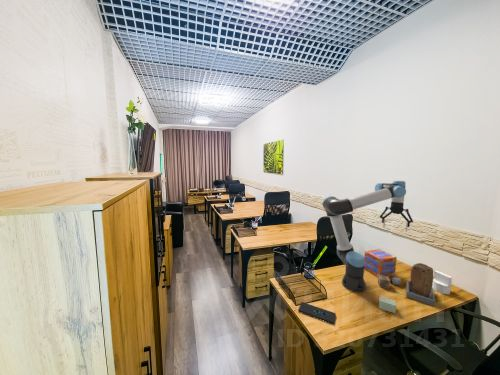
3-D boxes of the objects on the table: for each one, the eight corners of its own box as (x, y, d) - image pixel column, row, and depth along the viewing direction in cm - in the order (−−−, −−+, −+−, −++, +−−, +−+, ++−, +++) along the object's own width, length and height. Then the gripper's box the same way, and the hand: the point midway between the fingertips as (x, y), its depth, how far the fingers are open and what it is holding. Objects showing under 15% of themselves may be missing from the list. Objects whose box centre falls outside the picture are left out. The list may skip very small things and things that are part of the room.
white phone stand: (453, 292, 136) (455, 276, 135) (444, 295, 133) (446, 278, 132) (437, 285, 145) (439, 269, 143) (429, 287, 142) (431, 271, 140)
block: (432, 297, 130) (435, 268, 127) (424, 299, 128) (427, 270, 125) (414, 287, 140) (417, 260, 138) (406, 289, 138) (409, 262, 136)
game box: (379, 278, 152) (381, 259, 151) (363, 268, 167) (364, 250, 166) (395, 275, 157) (397, 257, 155) (377, 266, 171) (379, 248, 170)
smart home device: (334, 322, 109) (298, 309, 118) (334, 325, 109) (298, 312, 119) (335, 312, 116) (301, 301, 126) (335, 315, 116) (301, 303, 126)
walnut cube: (379, 286, 143) (380, 279, 142) (377, 282, 148) (378, 274, 147) (389, 288, 140) (390, 281, 140) (387, 284, 146) (388, 276, 145)
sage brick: (379, 308, 122) (379, 300, 121) (379, 303, 126) (379, 296, 125) (395, 313, 117) (396, 305, 117) (394, 308, 122) (395, 300, 121)
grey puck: (396, 282, 148) (397, 277, 148) (402, 285, 143) (403, 280, 143) (390, 281, 148) (391, 276, 148) (395, 284, 143) (396, 279, 143)
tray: (406, 296, 132) (406, 291, 131) (406, 284, 145) (406, 280, 145) (434, 306, 123) (435, 301, 123) (432, 292, 136) (432, 287, 136)
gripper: (377, 200, 152) (374, 227, 155) (419, 204, 137) (416, 234, 139) (378, 198, 158) (376, 224, 161) (419, 202, 142) (416, 231, 145)
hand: (394, 229), depth 150 cm, fingers open, 13 cm apart
